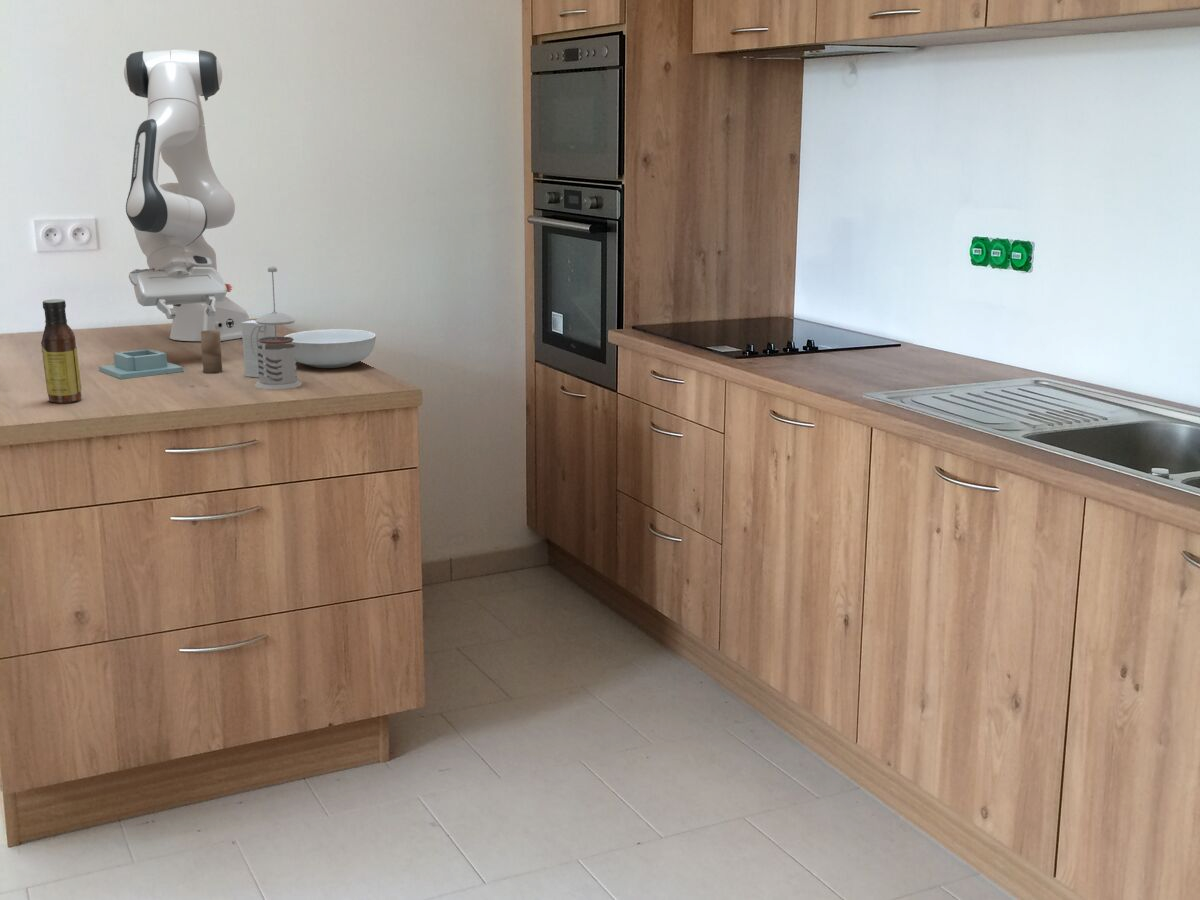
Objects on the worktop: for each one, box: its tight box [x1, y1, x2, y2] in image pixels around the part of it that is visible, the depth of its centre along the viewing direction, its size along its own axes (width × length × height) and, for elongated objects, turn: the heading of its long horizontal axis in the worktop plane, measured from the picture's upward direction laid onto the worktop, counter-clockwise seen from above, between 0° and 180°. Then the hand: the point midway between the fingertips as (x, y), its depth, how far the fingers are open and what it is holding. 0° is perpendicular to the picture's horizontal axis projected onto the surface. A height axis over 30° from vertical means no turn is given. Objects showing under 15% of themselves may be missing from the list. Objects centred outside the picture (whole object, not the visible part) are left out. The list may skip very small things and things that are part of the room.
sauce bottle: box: [40, 298, 82, 404], centre depth 238 cm, size 6×6×20 cm
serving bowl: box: [283, 328, 377, 369], centre depth 282 cm, size 21×21×7 cm
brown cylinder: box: [200, 330, 223, 374], centre depth 271 cm, size 4×4×9 cm
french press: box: [250, 265, 303, 390], centre depth 257 cm, size 10×12×25 cm
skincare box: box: [241, 319, 275, 378], centre depth 267 cm, size 6×4×12 cm
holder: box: [98, 348, 184, 380], centre depth 271 cm, size 14×12×4 cm
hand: (192, 315), depth 274 cm, fingers open, 8 cm apart
